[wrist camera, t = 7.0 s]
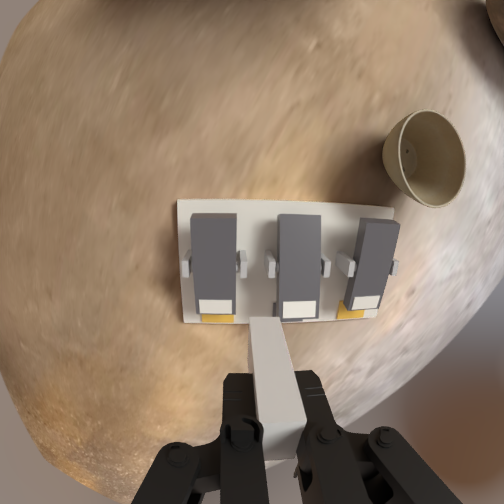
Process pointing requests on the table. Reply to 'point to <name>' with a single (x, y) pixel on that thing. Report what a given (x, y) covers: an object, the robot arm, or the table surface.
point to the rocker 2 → (298, 266)
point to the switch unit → (265, 255)
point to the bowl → (496, 16)
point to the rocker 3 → (371, 263)
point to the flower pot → (426, 158)
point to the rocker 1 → (214, 262)
